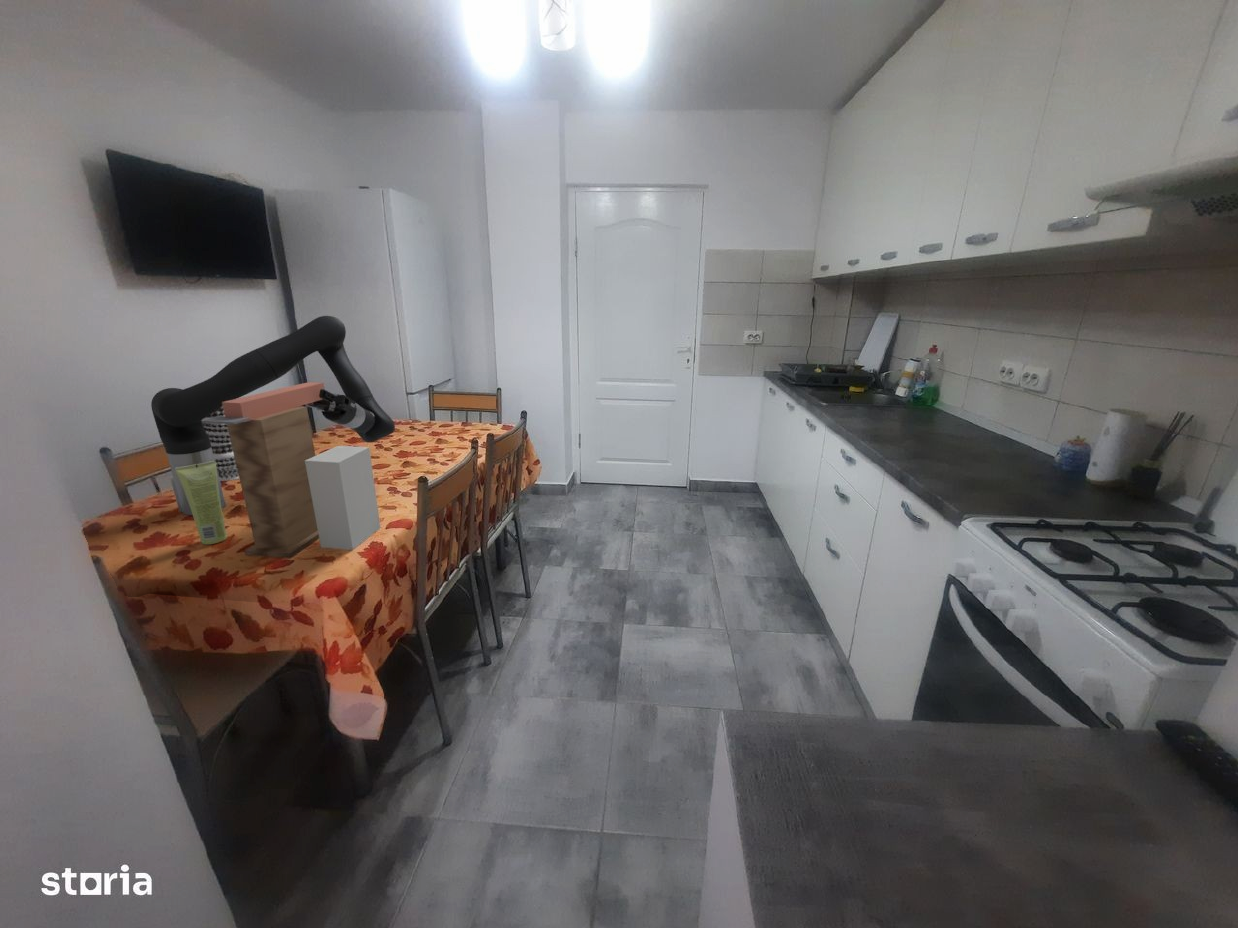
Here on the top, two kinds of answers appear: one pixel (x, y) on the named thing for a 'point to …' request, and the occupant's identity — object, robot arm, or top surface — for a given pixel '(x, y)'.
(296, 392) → the scraper
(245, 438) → the stand
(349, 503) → the light grey rectangular block
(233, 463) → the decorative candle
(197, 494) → the tube
